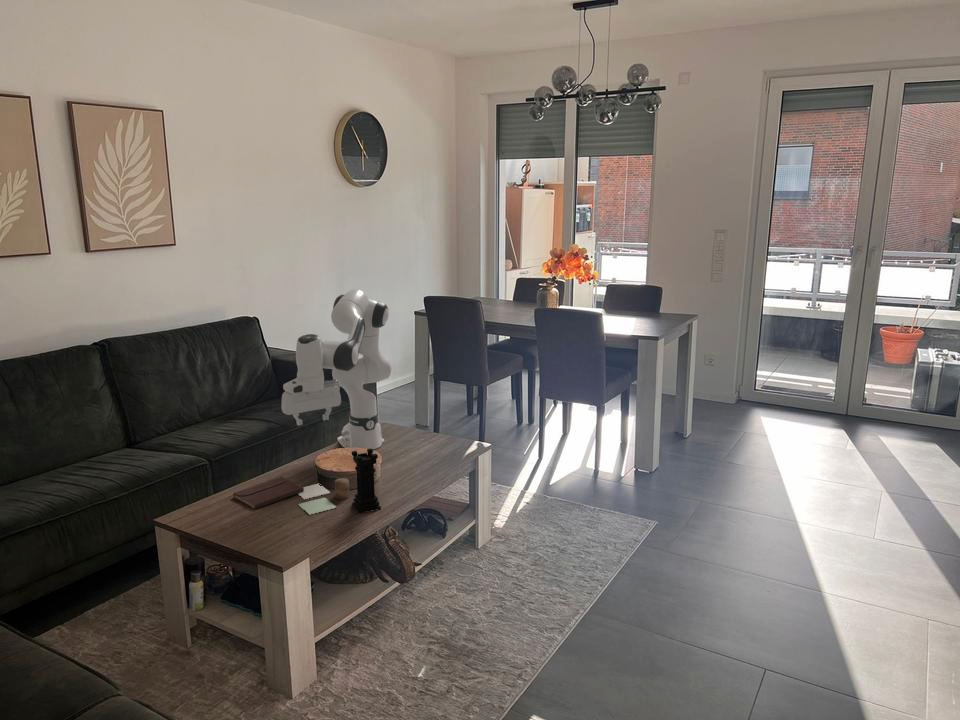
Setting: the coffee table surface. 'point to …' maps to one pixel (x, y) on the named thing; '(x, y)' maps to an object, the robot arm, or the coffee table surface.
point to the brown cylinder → (342, 488)
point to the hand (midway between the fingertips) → (312, 422)
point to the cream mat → (313, 491)
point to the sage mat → (317, 506)
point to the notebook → (268, 492)
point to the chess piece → (365, 482)
